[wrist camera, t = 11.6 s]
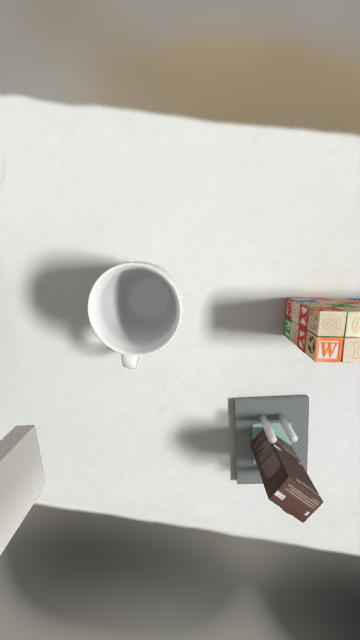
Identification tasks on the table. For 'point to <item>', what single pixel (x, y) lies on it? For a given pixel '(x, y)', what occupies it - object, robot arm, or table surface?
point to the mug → (135, 309)
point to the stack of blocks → (324, 328)
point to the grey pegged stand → (269, 429)
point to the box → (285, 477)
